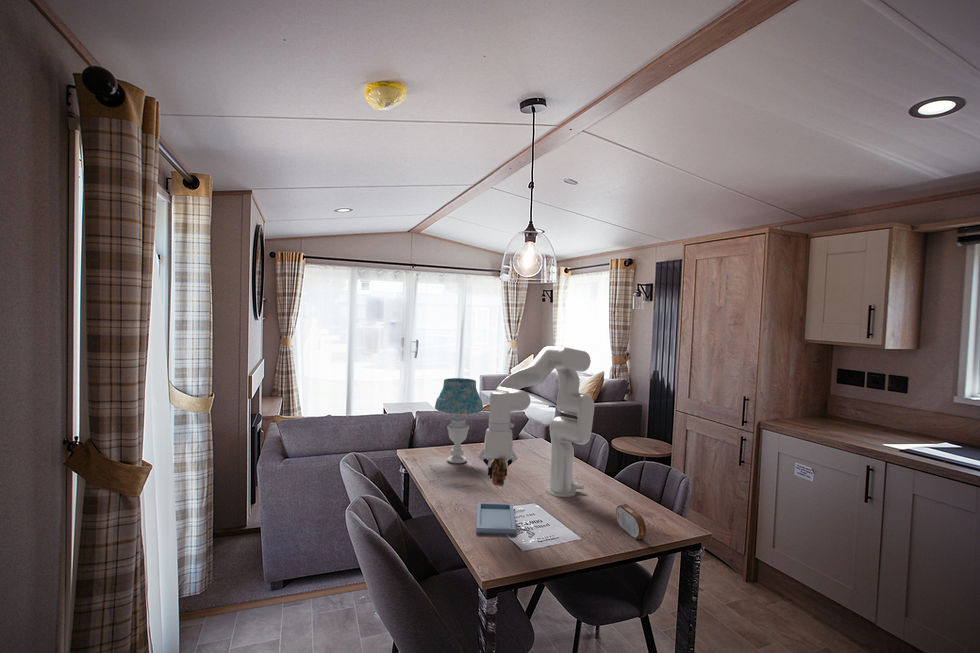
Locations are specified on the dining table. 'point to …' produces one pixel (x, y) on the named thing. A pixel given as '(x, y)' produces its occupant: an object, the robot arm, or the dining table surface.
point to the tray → (495, 518)
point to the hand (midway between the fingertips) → (497, 477)
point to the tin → (631, 521)
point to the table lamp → (458, 411)
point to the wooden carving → (498, 471)
